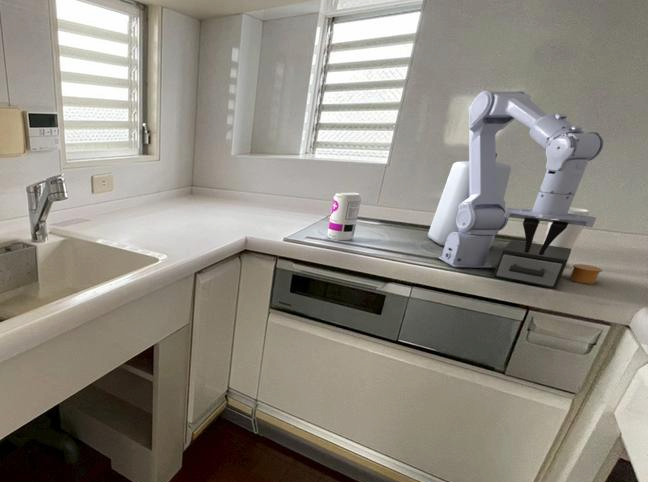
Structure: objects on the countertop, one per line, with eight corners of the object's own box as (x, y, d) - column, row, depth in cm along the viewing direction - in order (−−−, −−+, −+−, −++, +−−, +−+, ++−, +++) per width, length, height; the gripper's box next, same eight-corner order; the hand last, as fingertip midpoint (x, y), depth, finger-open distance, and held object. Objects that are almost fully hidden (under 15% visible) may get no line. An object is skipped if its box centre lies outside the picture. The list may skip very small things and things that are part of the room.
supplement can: (327, 239, 136) (335, 194, 130) (326, 234, 143) (333, 191, 137) (354, 241, 133) (363, 195, 128) (351, 236, 140) (360, 192, 135)
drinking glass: (533, 258, 116) (553, 205, 110) (565, 262, 112) (588, 208, 106) (534, 263, 111) (555, 209, 105) (568, 268, 107) (592, 212, 101)
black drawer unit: (555, 289, 94) (567, 260, 91) (493, 276, 102) (502, 249, 99) (560, 275, 103) (571, 248, 100) (502, 265, 110) (511, 239, 108)
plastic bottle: (473, 238, 136) (500, 151, 126) (496, 250, 123) (529, 154, 112) (423, 236, 140) (445, 151, 129) (440, 247, 126) (467, 153, 116)
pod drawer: (551, 291, 90) (560, 269, 88) (492, 279, 97) (500, 258, 95) (557, 274, 101) (566, 253, 99) (504, 264, 108) (511, 245, 106)
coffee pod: (579, 283, 97) (585, 270, 96) (562, 276, 102) (567, 263, 100) (602, 284, 97) (608, 271, 95) (584, 277, 101) (589, 264, 100)
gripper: (510, 190, 89) (490, 249, 95) (605, 198, 80) (577, 263, 85) (515, 187, 94) (496, 244, 99) (605, 194, 84) (578, 256, 89)
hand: (533, 252), depth 92 cm, fingers closed
